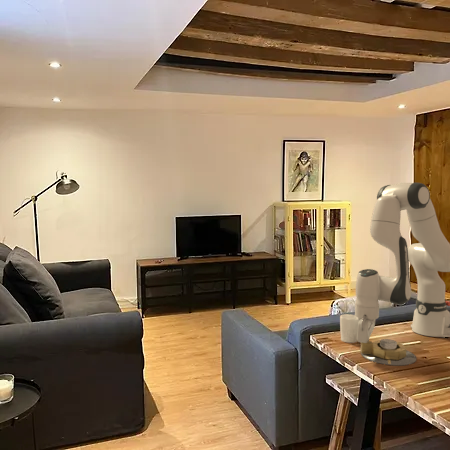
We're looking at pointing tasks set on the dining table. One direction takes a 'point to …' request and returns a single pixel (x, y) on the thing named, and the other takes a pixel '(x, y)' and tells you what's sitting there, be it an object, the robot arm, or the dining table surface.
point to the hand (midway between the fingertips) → (365, 346)
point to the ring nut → (383, 350)
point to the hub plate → (391, 345)
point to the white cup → (349, 328)
